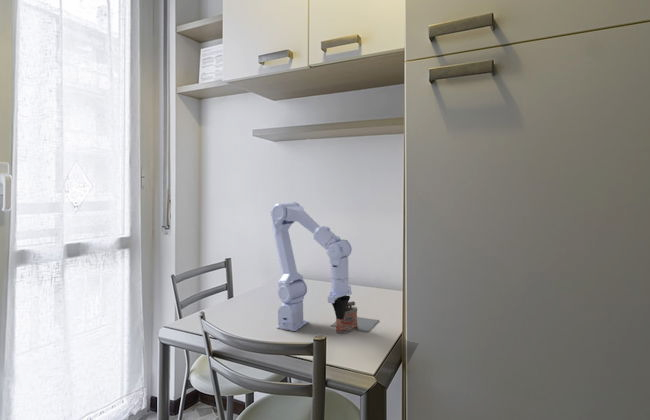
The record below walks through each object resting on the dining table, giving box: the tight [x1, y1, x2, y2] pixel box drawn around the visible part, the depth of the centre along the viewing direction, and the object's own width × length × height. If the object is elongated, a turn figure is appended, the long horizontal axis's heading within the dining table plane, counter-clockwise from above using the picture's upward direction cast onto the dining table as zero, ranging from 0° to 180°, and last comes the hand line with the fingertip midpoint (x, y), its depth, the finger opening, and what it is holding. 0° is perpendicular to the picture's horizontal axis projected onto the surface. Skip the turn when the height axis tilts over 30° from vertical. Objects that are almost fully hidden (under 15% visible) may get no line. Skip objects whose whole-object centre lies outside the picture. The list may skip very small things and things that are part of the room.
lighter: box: [335, 300, 358, 335], centre depth 126 cm, size 8×3×10 cm, turn 113°
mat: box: [330, 316, 380, 333], centre depth 134 cm, size 12×14×1 cm
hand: (340, 318), depth 121 cm, fingers closed
